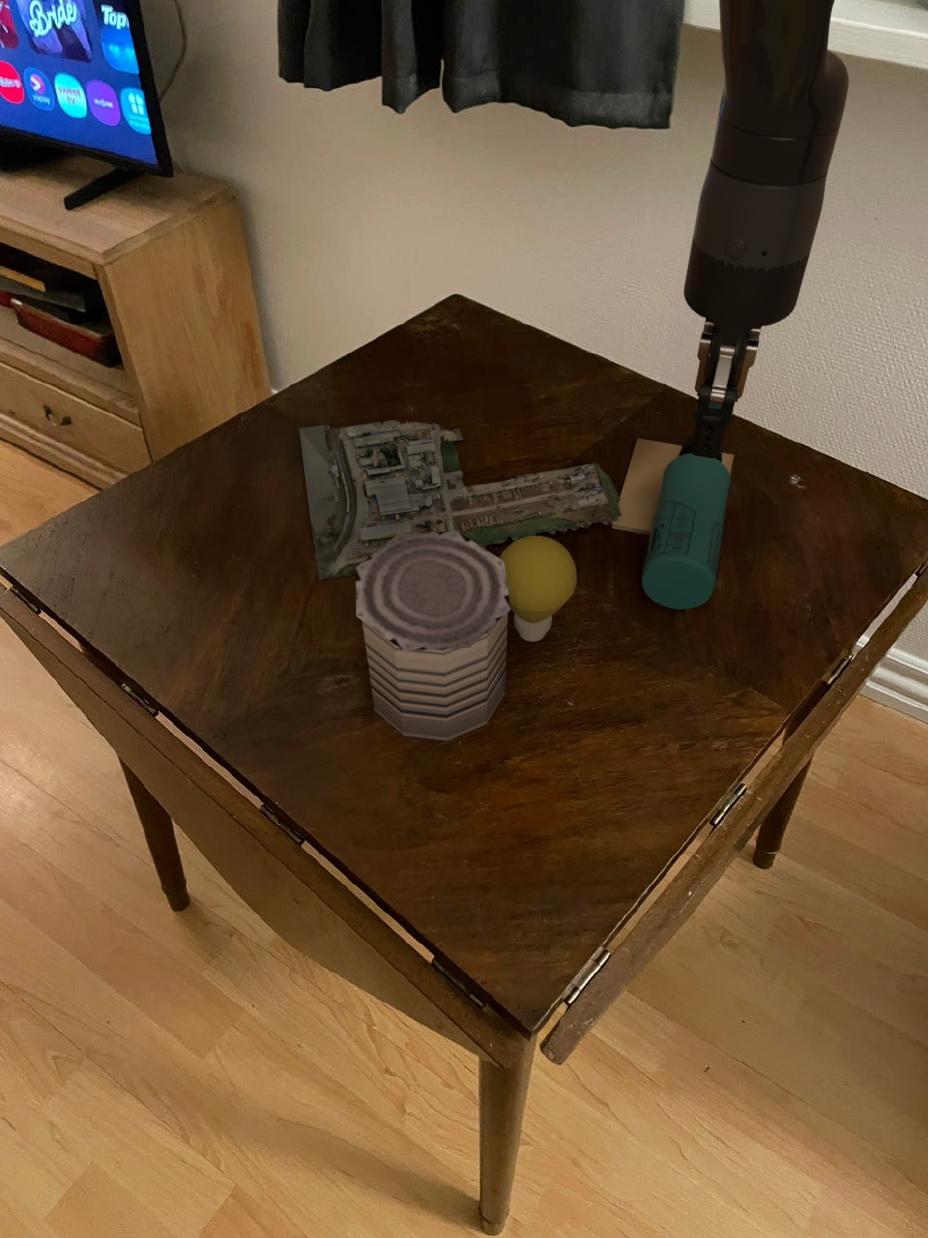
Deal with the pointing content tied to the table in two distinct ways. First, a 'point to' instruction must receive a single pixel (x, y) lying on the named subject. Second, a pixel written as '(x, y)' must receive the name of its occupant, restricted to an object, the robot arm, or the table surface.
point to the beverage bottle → (686, 531)
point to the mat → (647, 484)
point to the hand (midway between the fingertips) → (705, 451)
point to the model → (430, 493)
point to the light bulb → (537, 583)
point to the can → (434, 632)
